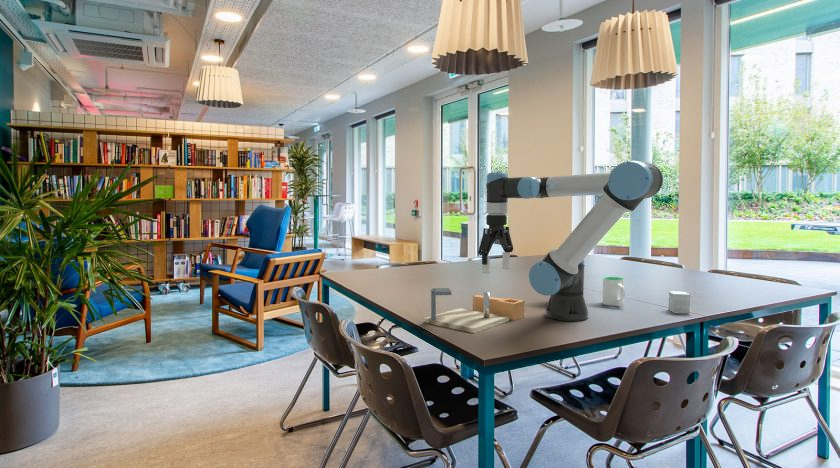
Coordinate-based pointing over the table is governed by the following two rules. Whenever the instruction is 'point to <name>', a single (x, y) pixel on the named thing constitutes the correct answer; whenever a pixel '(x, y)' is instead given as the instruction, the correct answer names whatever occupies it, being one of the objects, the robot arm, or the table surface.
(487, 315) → the post
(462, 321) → the board
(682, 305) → the product box
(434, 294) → the keeper
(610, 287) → the mug
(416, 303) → the table surface
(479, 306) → the link
